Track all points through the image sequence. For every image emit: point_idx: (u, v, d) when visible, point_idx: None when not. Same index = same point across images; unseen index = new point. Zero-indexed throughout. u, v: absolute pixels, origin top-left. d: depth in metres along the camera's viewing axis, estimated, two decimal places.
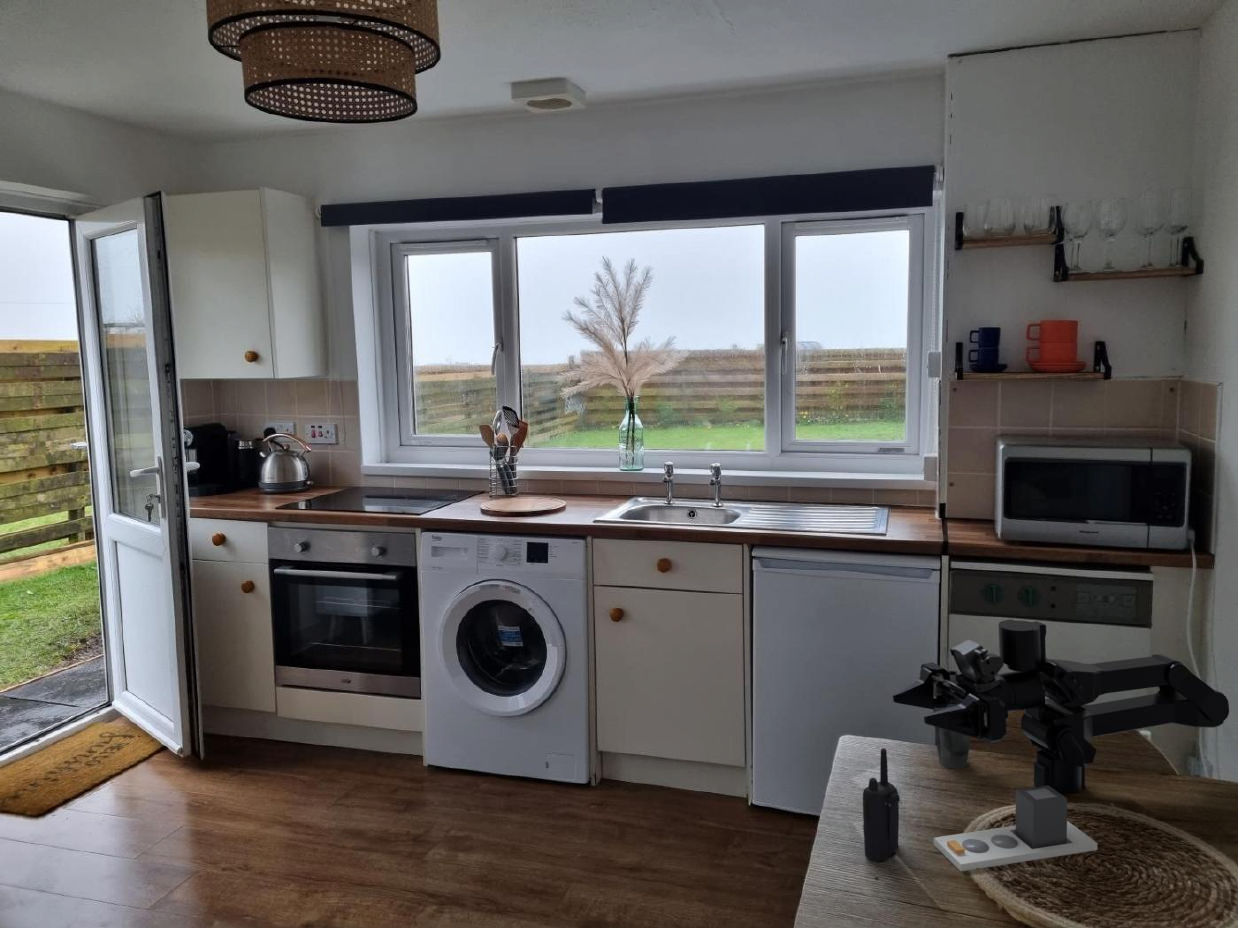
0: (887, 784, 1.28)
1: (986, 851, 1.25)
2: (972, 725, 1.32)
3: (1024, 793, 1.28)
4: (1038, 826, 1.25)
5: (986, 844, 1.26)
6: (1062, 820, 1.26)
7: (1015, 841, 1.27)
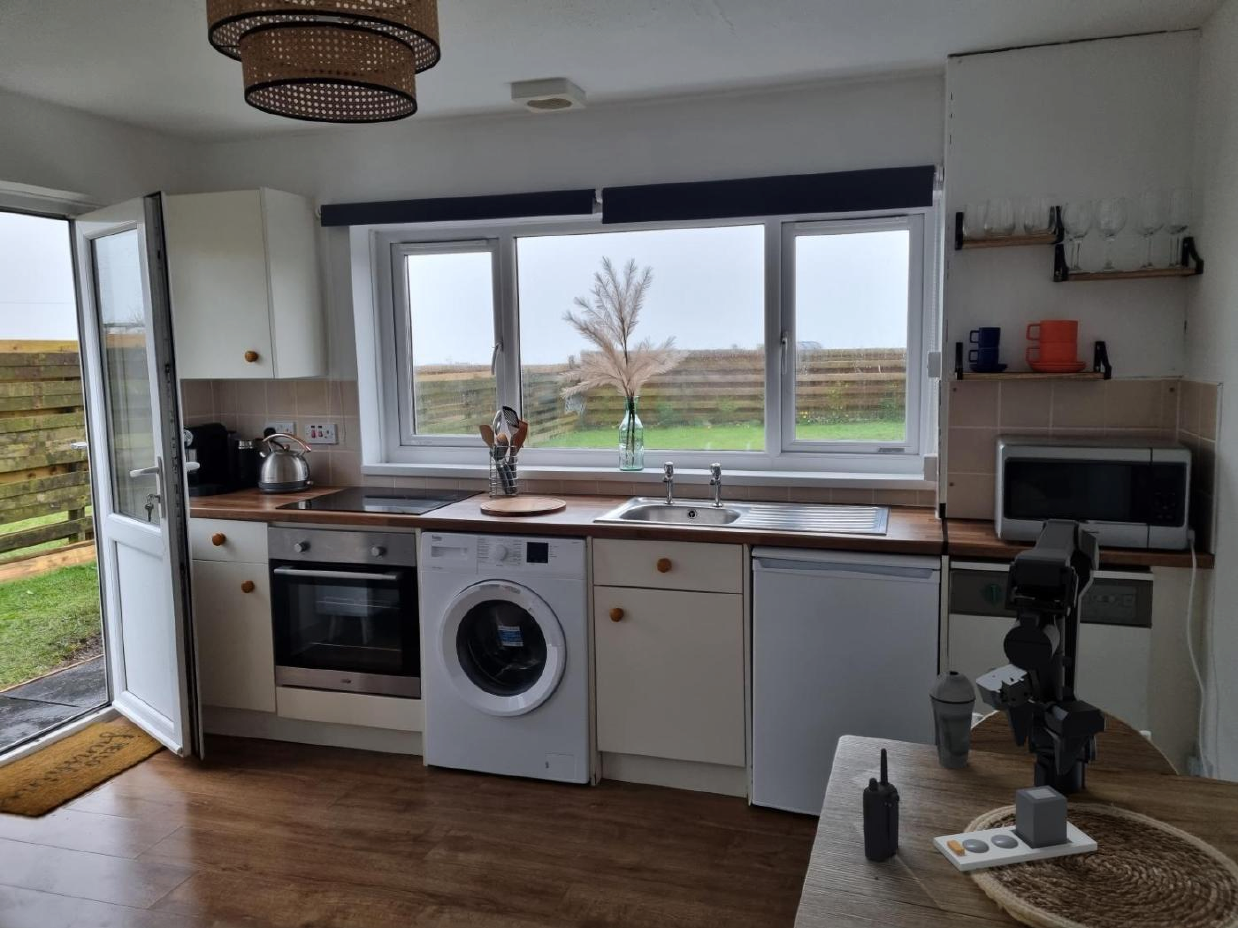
0: (887, 784, 1.28)
1: (986, 851, 1.25)
2: None
3: (1024, 793, 1.28)
4: (1038, 826, 1.25)
5: (986, 844, 1.26)
6: (1062, 820, 1.26)
7: (1015, 841, 1.27)
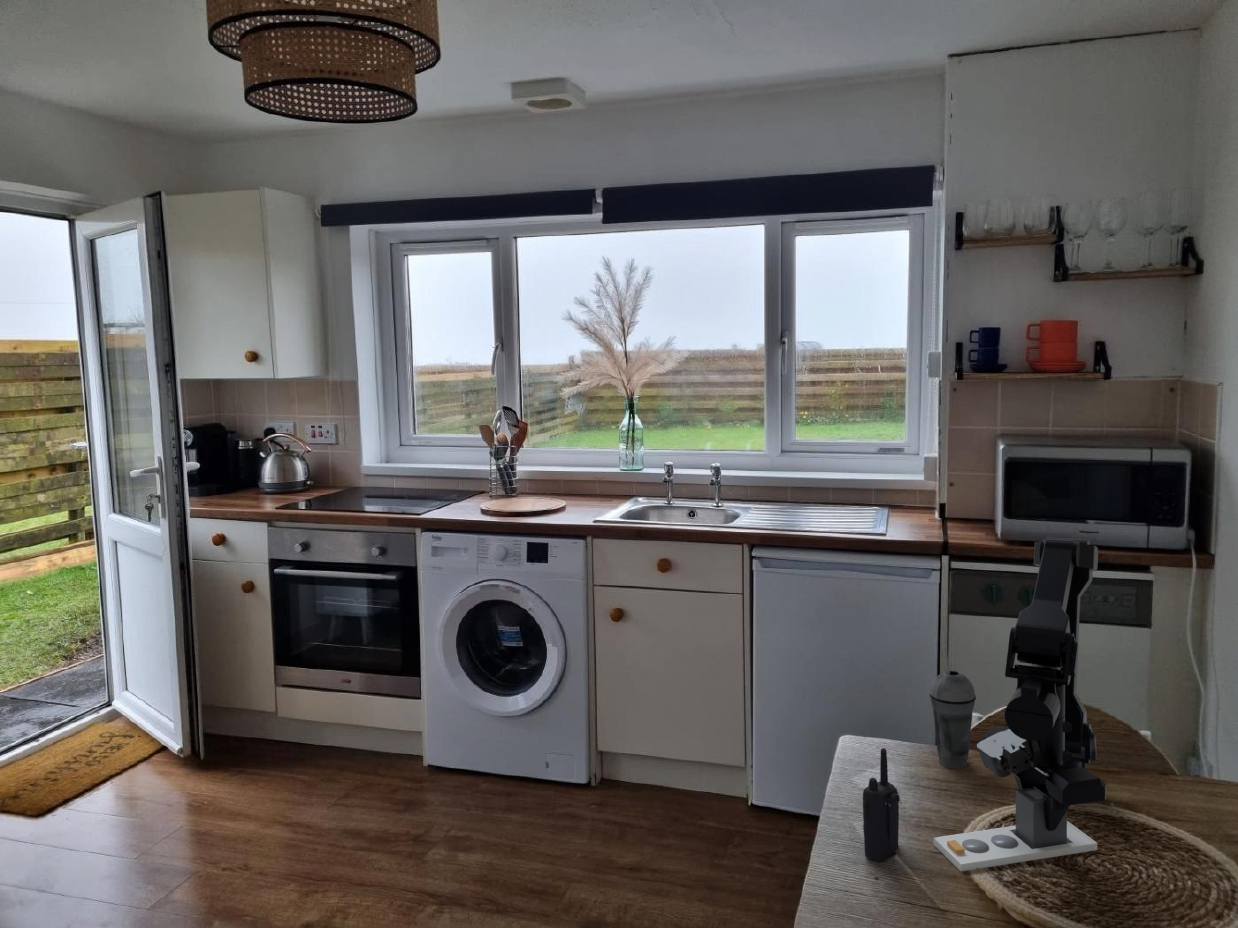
0: (887, 784, 1.28)
1: (986, 851, 1.25)
2: None
3: (1024, 793, 1.28)
4: (1038, 826, 1.25)
5: (986, 844, 1.26)
6: (1062, 820, 1.26)
7: (1015, 841, 1.27)
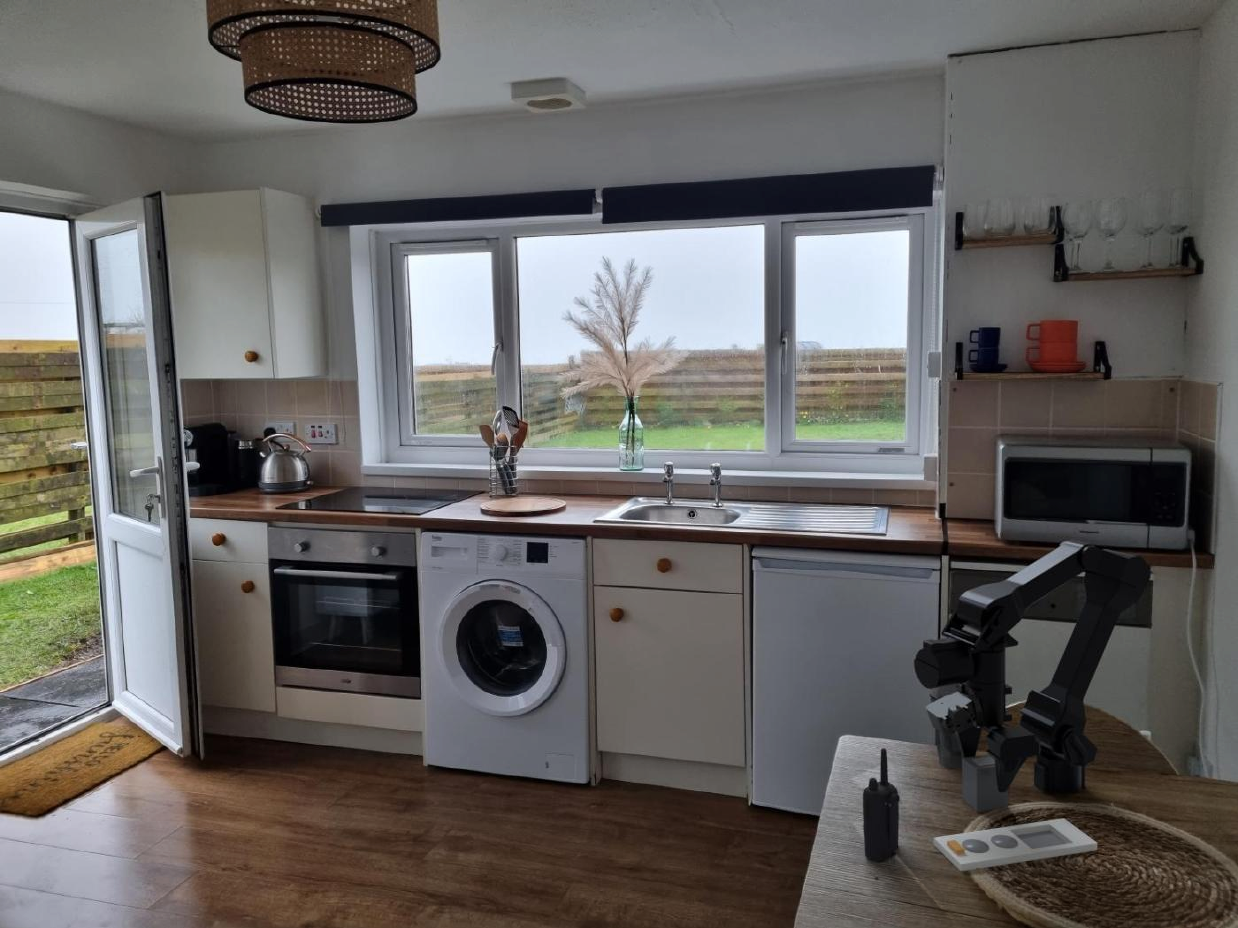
0: (887, 784, 1.28)
1: (986, 851, 1.25)
2: None
3: (969, 760, 1.39)
4: (981, 791, 1.37)
5: (986, 844, 1.26)
6: None
7: (1015, 841, 1.27)
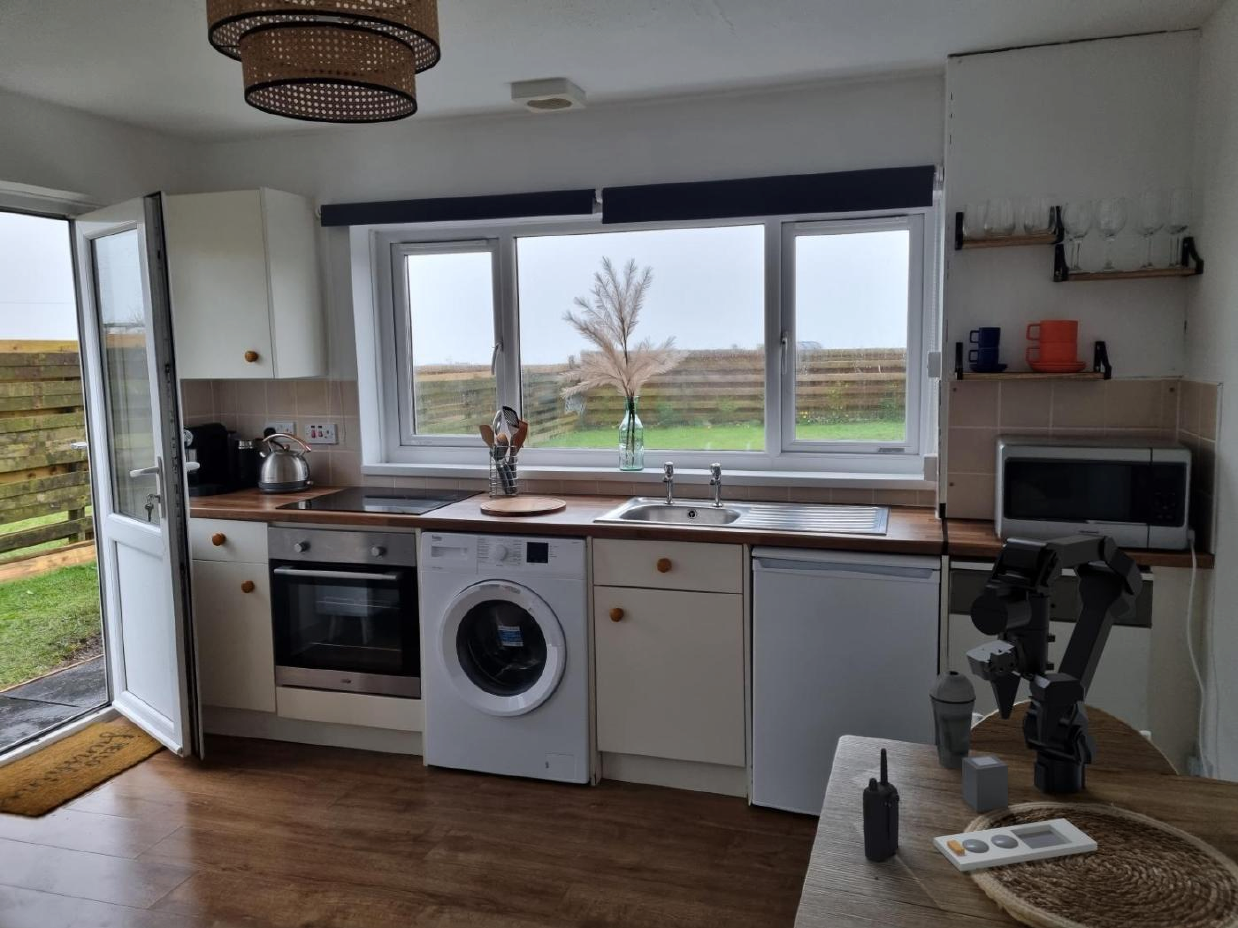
0: (887, 784, 1.28)
1: (986, 851, 1.25)
2: None
3: (969, 760, 1.39)
4: (981, 791, 1.37)
5: (986, 844, 1.26)
6: (1003, 785, 1.38)
7: (1015, 841, 1.27)
